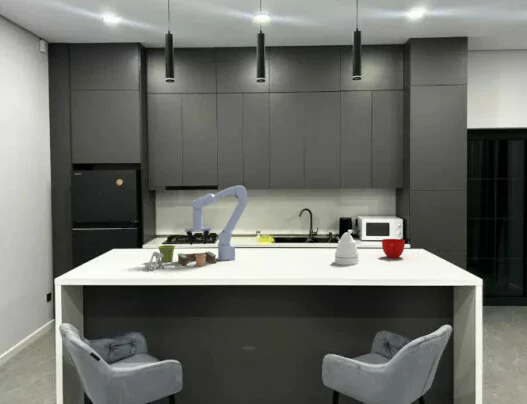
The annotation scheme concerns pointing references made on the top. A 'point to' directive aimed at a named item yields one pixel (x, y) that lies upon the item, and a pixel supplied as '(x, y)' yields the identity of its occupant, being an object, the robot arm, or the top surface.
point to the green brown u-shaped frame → (191, 257)
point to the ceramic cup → (393, 247)
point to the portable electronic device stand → (158, 256)
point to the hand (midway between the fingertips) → (197, 244)
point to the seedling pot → (200, 260)
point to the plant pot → (167, 252)
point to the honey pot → (346, 250)
